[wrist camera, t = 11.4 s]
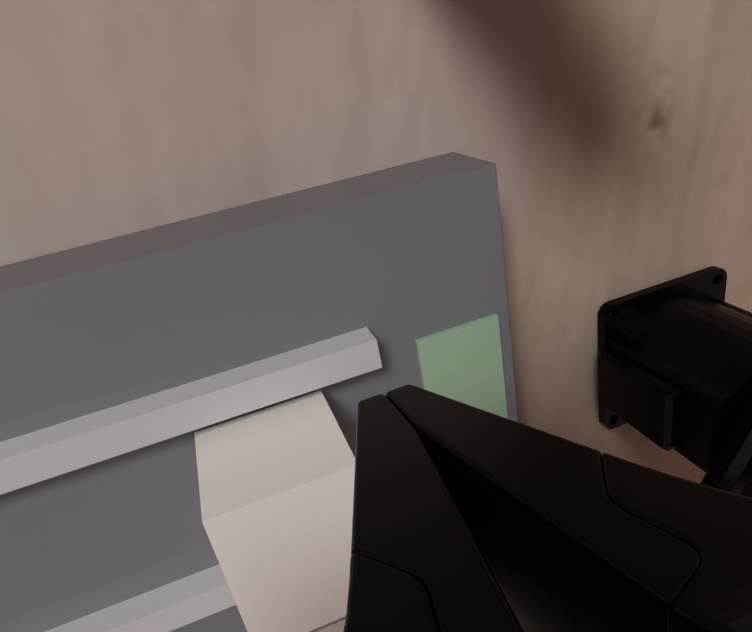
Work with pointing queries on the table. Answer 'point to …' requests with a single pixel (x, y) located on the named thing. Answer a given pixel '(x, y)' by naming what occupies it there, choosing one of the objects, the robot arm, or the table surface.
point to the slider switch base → (222, 373)
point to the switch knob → (280, 512)
